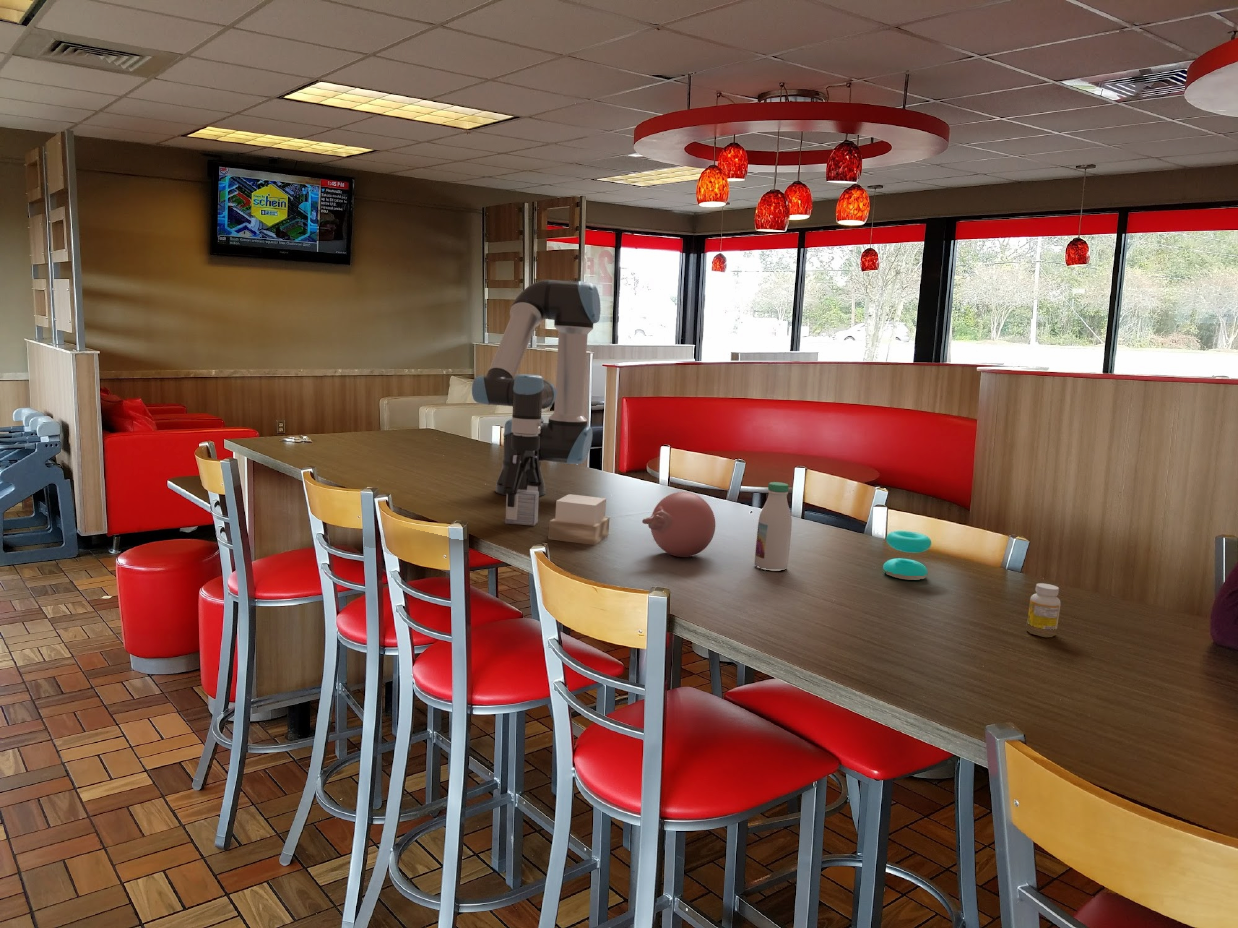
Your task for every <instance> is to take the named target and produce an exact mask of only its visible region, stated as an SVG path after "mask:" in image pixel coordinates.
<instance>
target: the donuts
mask: <svg viewBox="0 0 1238 928" xmlns="http://www.w3.org/2000/svg"><path fill="white" fill-rule="evenodd" d="M885 541H886V543H887V544H888V546H889V547H891V548H893V549H894V550H897V551H899V552H900V551H901V552H905V553H910V554H911V553H914V554H915V553H917V554H918V553H924V552H926V551H928V550H930V548H931V546H932V540H931V538H930V537H929V536H927V535H926V534H923V533H919V532H915V531H909V530H895V531H894V530H893V531H891V532H889V533H888V534H887V535H886V539H885ZM882 566H883V567H882V570H883V569H884V570H885V571H888V572H892V573H893V574H900V575H905V576H924V575H926V574H927V575H928V573H929V572H928V568H927V567H926V566H925V565H924V564H923V563H921V562H919V561H917V560H914V559H909V558H900V557H898V558H891V559H887V561H885V562H884V563H883V565H882Z"/></svg>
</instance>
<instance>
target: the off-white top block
mask: <svg viewBox="0 0 1238 928" xmlns="http://www.w3.org/2000/svg"><path fill="white" fill-rule="evenodd" d="M606 506H607V498H604V497H597V496H587V495H581V494H580V495H579V494H572V493H571V494H569V493H568V494H566V495H565V496H563V497H561V498H559V499H557V500H556V503H555V515H554V516H555V517H554V518H555V521H562V522H570V523H578V524H586V525H595V524H597V523H598V522H600V521H601V520H602V519H604V518H605V517H606V508H607V507H606Z"/></svg>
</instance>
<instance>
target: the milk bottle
mask: <svg viewBox="0 0 1238 928" xmlns="http://www.w3.org/2000/svg"><path fill="white" fill-rule="evenodd" d="M767 488H768V490H767V492H768V496H767V499H766V501H765V503H764V505H763V507H762V509H761V511H760V512H759V517H758V523H757V531H756V543H755V555H754V566H755V565H756V566H759V567H760V568H766V569H785V568H787V567H789V560H790V550H791V548H790V547H791V541H792V540H791V538H792V528H793V527H792V522H793V518H792V517H793V516H792V512H791V510H790V507H789V503H788V499H787V498H788V494H789V488H790V487H789V484H788V483H785V482H778V481H776V482H775V481H772V482H769V483H768V486H767ZM756 566H755V567H756ZM787 569H788V568H787Z"/></svg>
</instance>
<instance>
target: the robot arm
mask: <svg viewBox="0 0 1238 928" xmlns="http://www.w3.org/2000/svg"><path fill="white" fill-rule="evenodd" d="M601 309H602V308H601V299H600V292H599V290H598V288H597V286H596V285H595V284H594V283H593V282H587V281H582V280H578V281H577V280H558V279H556V280H555V279H541V280H538V281H535V282H533V283H531V284H530V285H529V286H527V287H525V288H524V289H523V290H522V291H521V292H520V293H519V294H518V295H517V297H516V298H515V300H514V301H513V303H512V304H511V307H510V310H509V315H510V316H509V317H510V319H509V320H508V323H507V325H506V328H505V329H504V333H503V335H502V337H501V340H500V342H499V345H498V347H497V349H496V352H495V354H494V357H493V358H492V361H491V364H490V366H489V368H488V370H487V372H486V375H478V376H477V375H476V377H475V378H474V379H473V381H472V385H471V396H472V399H473V400H474V402H476V403H477V404H484V405H488V406H501V407H502V406H503V407H504V406H505V407H512V414H511V415H512V417H511V419H508V420H506V421H505V423H504V432H503V434H502V435H503V442H502V443H503V446H502V447H503V448H502V451H503V452H502V466H501V470H500V473H499V475H498V477H497V478H498V479H497V481H496V483H495V492H496V493H497V494H499V495H504V496H506V497H507V510H506V509H505V520H506V519H513V520H517V509H518V494H517V491H518V489H520V490H532V491H539V497H540V496H544V495H545V494H546V484H545V481H544V476H543V472H542V468H541V466H542V462H549V463H558V464H567V465H581V464H583V463H584V462H585V461H586V459H587V457H588V455H589V453H590V451H591V447H592V442H593V428H592V427H591V426H590V425H588V419H587V418H586V417H585V416H584V412H583V411H584V398H585V383H586V382H585V381H586V368H587V367H586V365H587V364H586V363H587V353H588V352H587V349H588V338H589V337H588V335H589V333H591V332H592V330H593V329H594V324H596V323H599V321H600V318H601V311H602V310H601ZM544 320H548V321H549V320H550V321H551V320H553V321H554V322H553V326H554V328H555V329H556V331H557V332H558V339H557V341H558V343H557V357H556V358H557V359H556V371H555V372H556V373H555V384H553V383H552V382H550V381H548V380H544V377H543V376H541V375H539V374H529V373H524V374H523V373H519V374H517V373H518V370H519V368H520V365H521V363H522V361H523V358H524V355H525V353H526V350H527V349H528V346H529V343H530V341H531V338H532V336H533V334H534V331H535V329H536V328H537V327H539V325H541V323H542V321H544ZM553 404H554V407H553V409H554V412H553V413H552V414H551V415H550V416H549V417H548V422H545V421H544V418H543V417H542V413H543V411H542V410H545V409H547V408H549V407H551V406H552V405H553Z"/></svg>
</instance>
